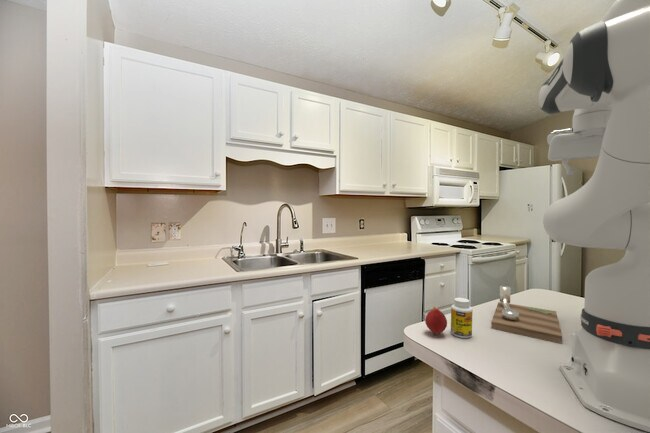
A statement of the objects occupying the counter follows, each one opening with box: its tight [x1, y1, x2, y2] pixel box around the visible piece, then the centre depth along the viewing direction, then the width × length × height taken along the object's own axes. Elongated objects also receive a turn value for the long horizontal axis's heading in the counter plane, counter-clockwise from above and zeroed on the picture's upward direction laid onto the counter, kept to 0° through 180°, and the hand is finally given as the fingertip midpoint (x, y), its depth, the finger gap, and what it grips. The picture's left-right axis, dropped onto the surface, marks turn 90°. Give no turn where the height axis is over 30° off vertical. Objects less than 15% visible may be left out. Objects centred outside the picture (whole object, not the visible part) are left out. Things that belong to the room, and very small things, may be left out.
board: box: [490, 301, 563, 344], centre depth 91 cm, size 23×16×2 cm
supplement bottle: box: [450, 297, 474, 339], centre depth 82 cm, size 6×6×10 cm
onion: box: [424, 306, 448, 335], centre depth 82 cm, size 6×6×8 cm
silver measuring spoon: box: [499, 285, 519, 320], centre depth 94 cm, size 17×4×6 cm, turn 154°
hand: (591, 173), depth 83 cm, fingers open, 8 cm apart
